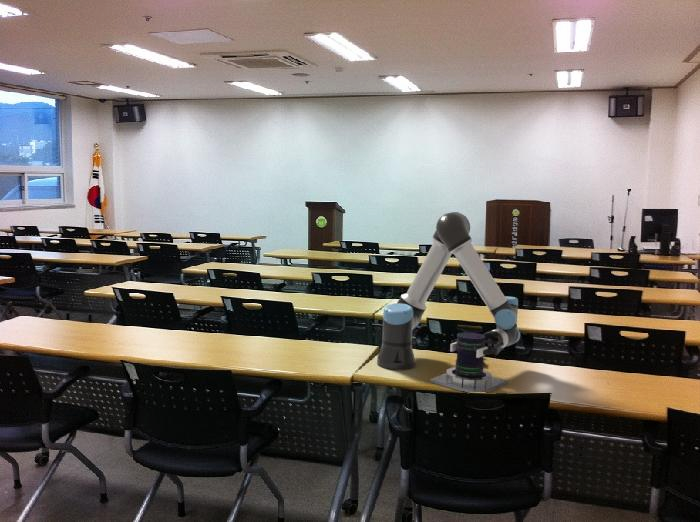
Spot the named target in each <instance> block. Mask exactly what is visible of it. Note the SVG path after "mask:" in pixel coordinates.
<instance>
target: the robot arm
mask: <svg viewBox="0 0 700 522" xmlns="http://www.w3.org/2000/svg"><path fill="white" fill-rule="evenodd" d="M435 225H436V227H435V231H434V233H433V235H432V237H431V238H432V241H433V243H432V245H431V247H430V248H429V250H428V253H427V254H426V256H425V258H424V260H423V262H422V263H421V266H420V267H419V269H418V271H417V273H416V275H415V276H414V279H413V280H412V282H411V284H410V286H409V288H408V289H407V292H406V293H402V294H401V295H400V297H399V299H398V300H397V303H392V304H388V305H386V306H385V307H384V308H383V313H382V342H381V343H382V344H381V347H380V350H379V353H378V355H377V358H376V364H377V365H378V366H379V367H381V366H382V367H381V368H384V367H386V368H385V369H388V368H390V369H389V370H397V369H402V370H409V369H413V368H414V367H416V358H415V353H414V350H413V342H412V340H413V330H414V329H416V328H417V327H418V326H419V324H420V322H421V321H422V317H423V315H424V313H425V311H426V310H427V306H426V302H427V300H428V298H429V296H430V294H431V293H432V292H433V289H434V288H435V286H436V284H437V282H438V281H439V278H440V277H441V274H442V273H443V272H444V269H445V267H446V266H447V264H448V262H449V260H450V258H451V256H453V255H454V257H455V259H456V261H458V263H459V265H460V266H461V268H462V269H463V271H464V272H465V274H466V275H467V277H468V279H469V280H470V282H471V283H472V284H473V285H472V286H473V287H474V288H475V290H476V292H477V293H478V294H479V296H480V298H481V300H482V301H483V302H484V304H485V305H486V307H487V308H488V310H489V312H490V314H491V316H492V317H493V319H494V323H495V325H496V329H492V330H489V331H486V332H485V333H483V335H484V336H485V339H484V340H485V342H484V343H485V347H483V348H480V349H478V350H477V353H476V357H477V358H479V357H482V356H483V357H484V356H487V355H492V354H493V355H494V356H498V355H499V353H500V352H501V351H504V348H505V347H509V346H513V345H514V344H516V343H518V342H519V340H520V338H521V332H520V329H519V327H518V326H517V325H518V323H517V321H518V313H519V312H518V309H519V299H518V298H517V297H515V296H507V295H506V296H505V295H504V293H503V292H502V290H501V288H500V287H499V284H497V282H496V281H495V279H494V277H493V276H492V274H491V273H490V271H489V269H488V268H487V266H486V264H485V263H484V261H483V259H482V258H481V257H480V256H479V254H478V252H477V250H476V249H475V248H474V246H473V244H472V240H473V238H472V237H471V235H470V232H471V224H470V220H469V218H467V216H466V215H464V214H463V213H460V212H458V211H454V212H452V211H451V212H447V213H444V214H443V215H442V216H440V217H439V218H438V219H437V222H436V224H435ZM452 254H453V255H452ZM449 346H450V347H449V348H450V349H449V352H455V351H456V352H457V348H456V347H457V338H455V339H454V342H452V343H450V345H449Z"/></svg>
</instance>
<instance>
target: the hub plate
mask: <svg viewBox="0 0 700 522" xmlns="http://www.w3.org/2000/svg"><path fill="white" fill-rule="evenodd" d="M455 373H456V368H455V366H452V367H450V368H447V369H446V372H445V373H442V374H440V375H437V376H435V377H432V378H429V383H430V384H434V385H436V386H441V387H445V388H448V389H452V390H456V391H459V392H462V391H465V392H488V393H490V392H492V391H494V390H496V389H498V388H501V387H502V386H504V385H506V384H507V383H508V380H507V379H503V378H499V377H496V376H493V374H492V372H490V371H487V370H486V369H483V373H482V375H483V377H482V378H476V379H471V378H463V377H459V376H456V375H455ZM465 392H464V393H465Z"/></svg>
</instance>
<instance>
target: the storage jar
mask: <svg viewBox="0 0 700 522" xmlns="http://www.w3.org/2000/svg"><path fill="white" fill-rule="evenodd" d="M483 334H484V333H483ZM483 334H482V333H479V332H472V331H471V332H470V331H463V332H457V334H456V336H457V338H456V339H457V347H456V348H457V350H456V360H455V366H454V367H455V368H456V373H455V375H456V376H459V377H463V378H471V379H476V378H482V377H483V375H482V373H483V370H484V361H483V358H484V356H482V357H479V358H477V357H476V353H477V350H478V349H480V348H483V347H485V343H484V342H485V340H484V339H485V336H484V335H483Z"/></svg>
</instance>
